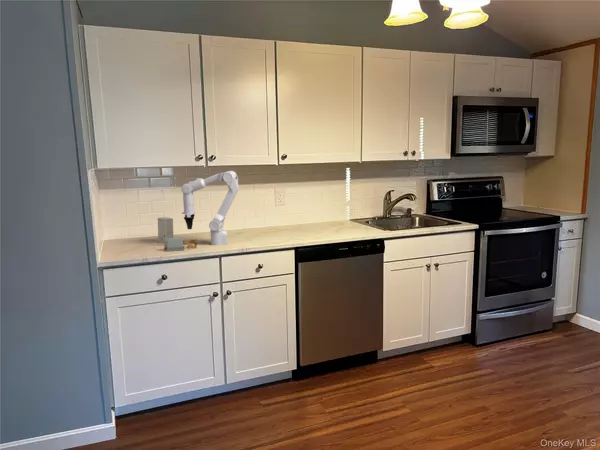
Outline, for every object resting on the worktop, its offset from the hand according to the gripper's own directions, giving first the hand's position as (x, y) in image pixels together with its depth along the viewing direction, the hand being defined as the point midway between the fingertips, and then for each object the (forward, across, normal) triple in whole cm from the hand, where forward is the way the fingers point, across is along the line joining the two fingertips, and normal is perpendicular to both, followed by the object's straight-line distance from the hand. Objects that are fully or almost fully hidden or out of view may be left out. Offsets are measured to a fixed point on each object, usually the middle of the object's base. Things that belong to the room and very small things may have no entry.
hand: (190, 228), depth 260 cm
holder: (+10, +15, -8) cm, 19 cm away
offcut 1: (+9, +8, 0) cm, 13 cm away
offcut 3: (+11, +3, 0) cm, 11 cm away
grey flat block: (+10, +15, -8) cm, 19 cm away
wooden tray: (+10, +6, -5) cm, 13 cm away
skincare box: (+11, -14, -15) cm, 23 cm away
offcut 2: (+11, +8, +1) cm, 14 cm away
